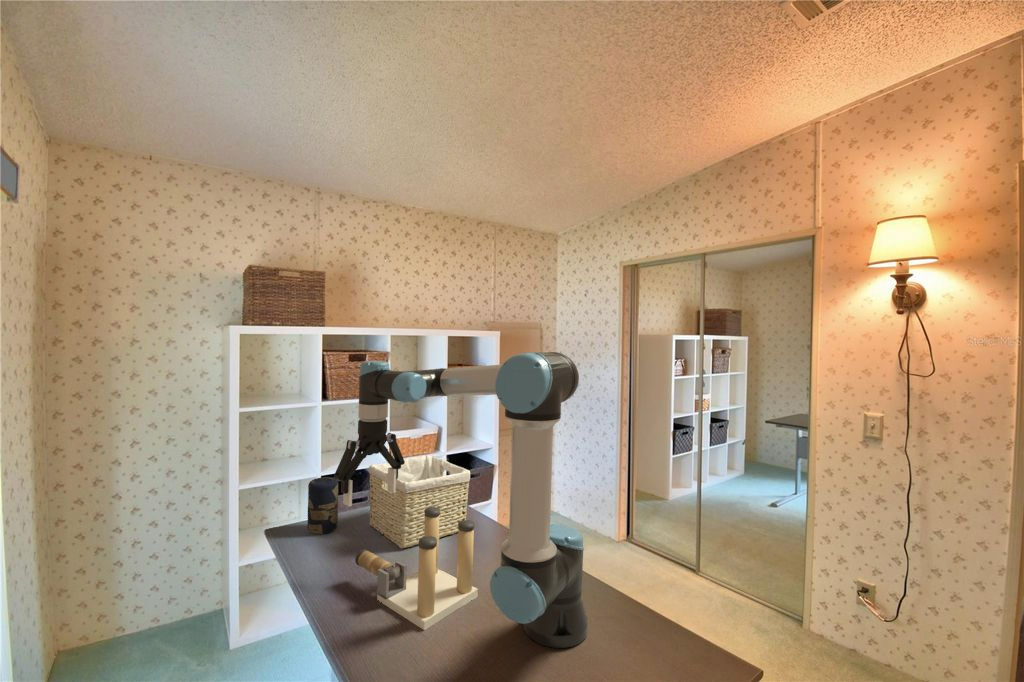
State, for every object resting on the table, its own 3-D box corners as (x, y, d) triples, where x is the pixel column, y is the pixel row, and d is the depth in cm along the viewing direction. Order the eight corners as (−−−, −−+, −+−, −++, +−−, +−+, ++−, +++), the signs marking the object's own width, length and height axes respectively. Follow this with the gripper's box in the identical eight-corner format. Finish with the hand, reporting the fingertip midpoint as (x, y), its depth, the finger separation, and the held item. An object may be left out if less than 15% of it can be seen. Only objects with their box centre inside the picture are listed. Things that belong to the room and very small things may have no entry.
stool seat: (477, 596, 119) (480, 523, 118) (422, 631, 104) (424, 548, 104) (431, 572, 130) (433, 505, 130) (375, 601, 115) (377, 525, 115)
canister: (330, 536, 150) (331, 482, 150) (301, 535, 150) (303, 481, 150) (341, 524, 160) (343, 473, 159) (314, 523, 160) (316, 472, 160)
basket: (430, 507, 178) (432, 451, 178) (472, 530, 159) (474, 468, 158) (364, 525, 160) (365, 463, 160) (402, 554, 140) (404, 483, 140)
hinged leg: (401, 580, 117) (402, 564, 117) (388, 587, 114) (388, 570, 114) (368, 561, 126) (368, 546, 126) (354, 567, 123) (355, 552, 123)
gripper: (401, 411, 134) (399, 483, 134) (321, 423, 114) (318, 507, 115) (418, 415, 129) (416, 490, 130) (337, 427, 110) (334, 515, 110)
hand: (370, 498), depth 122 cm, fingers open, 13 cm apart
